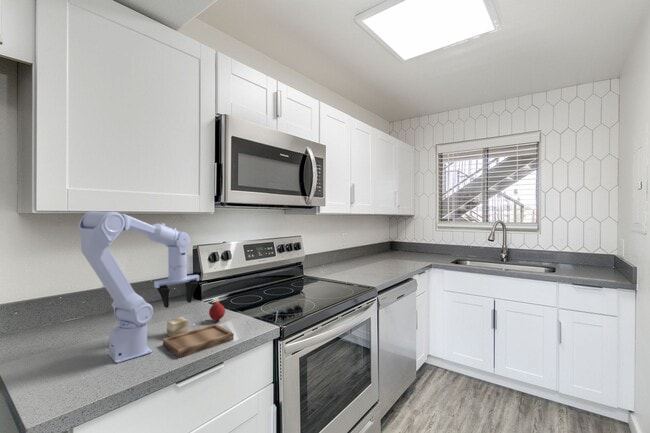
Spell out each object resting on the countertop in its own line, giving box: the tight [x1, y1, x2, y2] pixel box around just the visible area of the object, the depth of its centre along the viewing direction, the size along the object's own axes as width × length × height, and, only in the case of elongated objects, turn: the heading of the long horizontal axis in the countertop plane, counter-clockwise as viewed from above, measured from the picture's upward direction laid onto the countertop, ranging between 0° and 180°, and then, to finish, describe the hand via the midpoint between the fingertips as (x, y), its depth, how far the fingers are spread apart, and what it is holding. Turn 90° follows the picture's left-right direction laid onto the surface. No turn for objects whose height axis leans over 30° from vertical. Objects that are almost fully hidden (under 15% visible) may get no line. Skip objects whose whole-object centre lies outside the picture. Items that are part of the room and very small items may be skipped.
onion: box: [208, 300, 226, 322], centre depth 121 cm, size 6×6×8 cm
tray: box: [162, 324, 234, 359], centre depth 101 cm, size 18×12×2 cm, turn 138°
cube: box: [166, 316, 189, 337], centre depth 108 cm, size 5×5×5 cm
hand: (177, 304), depth 108 cm, fingers open, 7 cm apart
